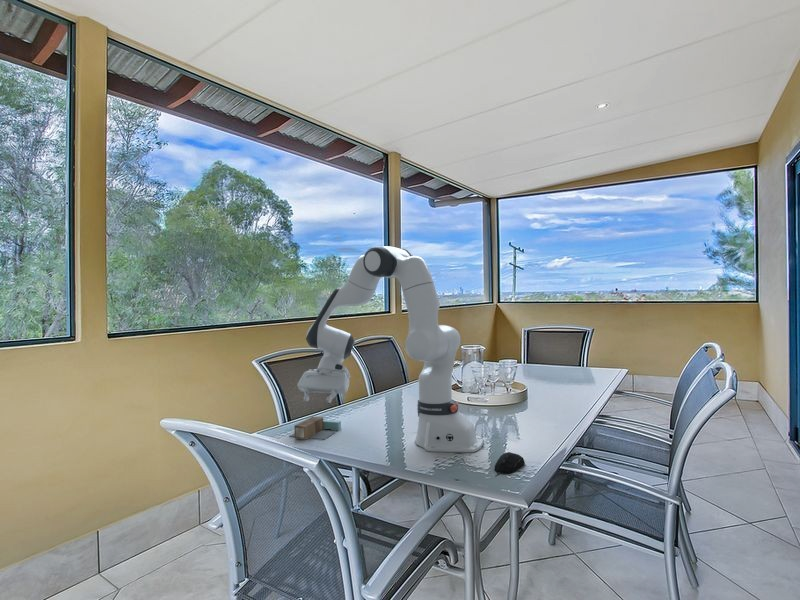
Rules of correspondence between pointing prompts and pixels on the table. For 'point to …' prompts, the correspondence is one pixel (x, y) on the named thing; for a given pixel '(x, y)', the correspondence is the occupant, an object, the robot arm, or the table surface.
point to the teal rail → (331, 424)
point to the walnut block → (308, 427)
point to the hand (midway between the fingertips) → (316, 401)
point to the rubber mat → (319, 435)
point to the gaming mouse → (509, 463)
